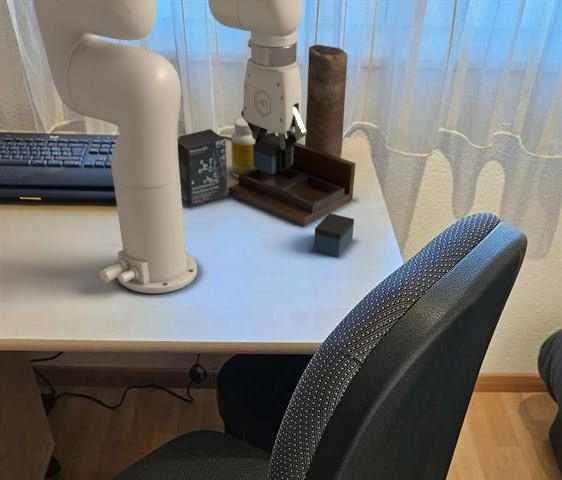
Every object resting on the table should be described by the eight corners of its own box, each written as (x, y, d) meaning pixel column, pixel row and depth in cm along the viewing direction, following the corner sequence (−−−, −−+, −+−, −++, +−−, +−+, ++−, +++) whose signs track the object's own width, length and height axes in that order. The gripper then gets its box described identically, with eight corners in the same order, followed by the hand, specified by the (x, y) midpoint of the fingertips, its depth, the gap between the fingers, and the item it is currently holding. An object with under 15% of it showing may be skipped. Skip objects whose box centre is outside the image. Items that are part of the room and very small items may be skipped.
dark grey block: (271, 174, 135) (271, 151, 132) (253, 167, 137) (252, 144, 134) (293, 164, 138) (293, 141, 135) (274, 157, 140) (275, 134, 137)
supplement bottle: (230, 169, 147) (228, 117, 140) (256, 167, 148) (256, 115, 141) (234, 180, 143) (233, 128, 136) (262, 178, 144) (262, 126, 137)
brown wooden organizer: (304, 226, 131) (305, 188, 126) (228, 195, 139) (227, 158, 134) (352, 200, 138) (355, 163, 133) (278, 172, 146) (279, 135, 141)
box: (190, 208, 135) (186, 147, 127) (175, 196, 138) (170, 136, 130) (228, 198, 138) (226, 138, 130) (213, 186, 141) (210, 127, 133)
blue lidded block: (338, 257, 124) (340, 234, 121) (313, 250, 125) (314, 227, 122) (352, 241, 127) (354, 218, 125) (327, 235, 129) (329, 212, 126)
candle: (307, 152, 153) (312, 40, 139) (343, 155, 152) (352, 43, 138) (301, 167, 148) (305, 53, 133) (338, 170, 147) (346, 56, 133)
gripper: (220, 47, 126) (225, 158, 139) (298, 70, 118) (295, 185, 132) (251, 37, 130) (252, 146, 143) (328, 59, 122) (322, 172, 136)
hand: (273, 163), depth 137 cm, fingers closed on dark grey block, 4 cm apart
